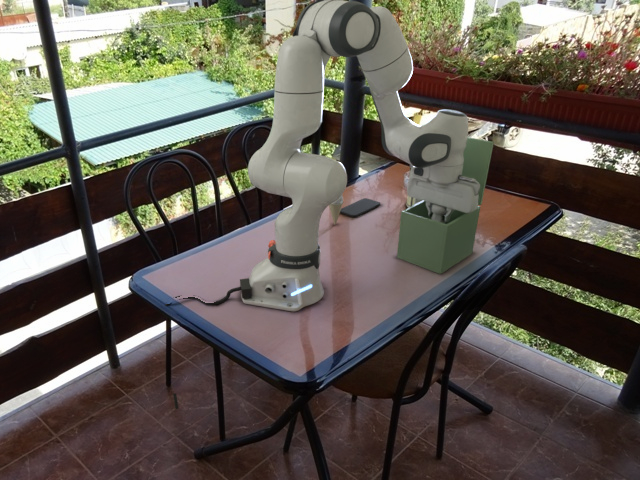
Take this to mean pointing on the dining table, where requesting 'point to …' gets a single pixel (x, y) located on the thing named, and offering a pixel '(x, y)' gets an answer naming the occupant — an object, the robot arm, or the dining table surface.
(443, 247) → the box
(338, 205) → the ice cream cone
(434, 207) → the salt shaker
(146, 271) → the dining table surface
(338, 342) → the dining table surface
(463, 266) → the dining table surface
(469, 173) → the lid
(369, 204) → the phone
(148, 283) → the dining table surface
